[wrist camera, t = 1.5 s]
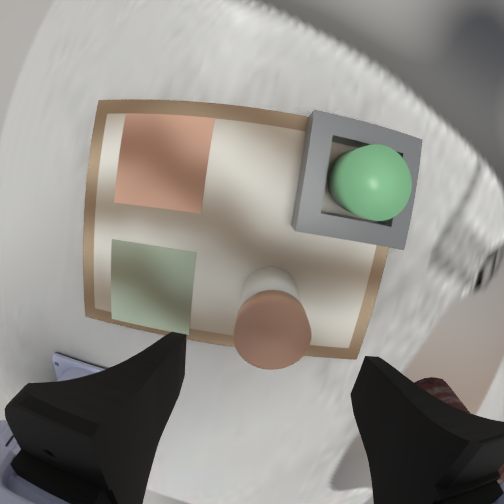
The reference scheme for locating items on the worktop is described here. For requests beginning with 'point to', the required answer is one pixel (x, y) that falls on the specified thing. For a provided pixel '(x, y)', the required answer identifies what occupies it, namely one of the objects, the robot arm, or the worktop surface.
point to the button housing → (315, 173)
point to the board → (212, 224)
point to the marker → (271, 320)
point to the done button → (371, 182)
